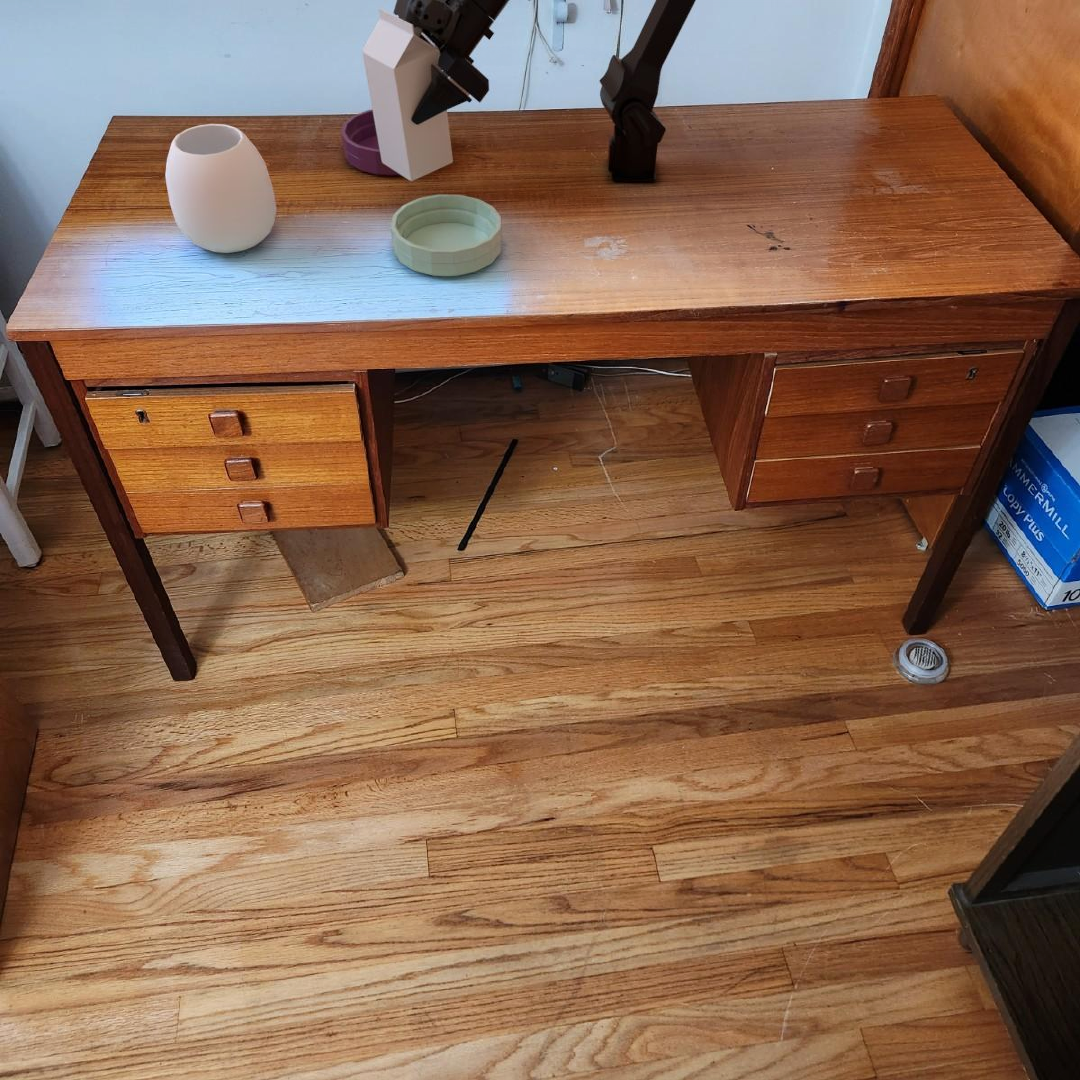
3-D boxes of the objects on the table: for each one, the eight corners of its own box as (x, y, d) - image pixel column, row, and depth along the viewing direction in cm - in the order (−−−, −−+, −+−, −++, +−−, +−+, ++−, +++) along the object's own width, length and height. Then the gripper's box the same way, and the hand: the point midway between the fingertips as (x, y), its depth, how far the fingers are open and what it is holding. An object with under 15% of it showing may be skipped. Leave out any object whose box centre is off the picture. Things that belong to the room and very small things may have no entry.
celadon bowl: (502, 222, 132) (502, 195, 129) (499, 280, 123) (499, 252, 120) (399, 220, 132) (397, 193, 129) (388, 278, 123) (385, 250, 120)
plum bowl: (443, 133, 149) (441, 108, 147) (436, 178, 140) (434, 152, 137) (351, 132, 149) (348, 106, 146) (339, 176, 140) (335, 150, 137)
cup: (254, 271, 123) (231, 171, 113) (162, 254, 125) (131, 155, 115) (298, 220, 132) (281, 123, 122) (211, 205, 134) (187, 109, 124)
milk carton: (411, 183, 128) (388, 34, 114) (381, 163, 132) (355, 17, 117) (453, 163, 131) (436, 16, 116) (423, 145, 135) (402, 0, 120)
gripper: (403, -63, 120) (331, 44, 125) (460, -14, 109) (379, 102, 114) (464, -4, 128) (395, 94, 133) (523, 47, 117) (445, 153, 122)
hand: (402, 109), depth 125 cm, fingers closed on milk carton, 8 cm apart
